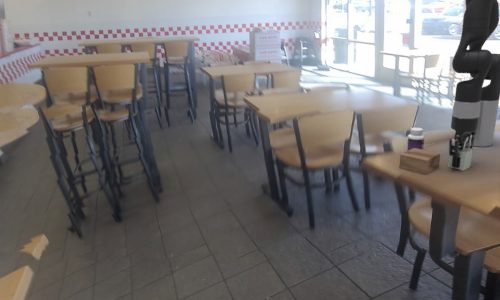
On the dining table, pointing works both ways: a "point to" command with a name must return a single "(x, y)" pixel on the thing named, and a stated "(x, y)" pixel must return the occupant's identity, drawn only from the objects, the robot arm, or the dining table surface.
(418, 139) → the pill bottle
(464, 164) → the sage cube
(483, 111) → the robot arm
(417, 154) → the walnut block
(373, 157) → the dining table surface
